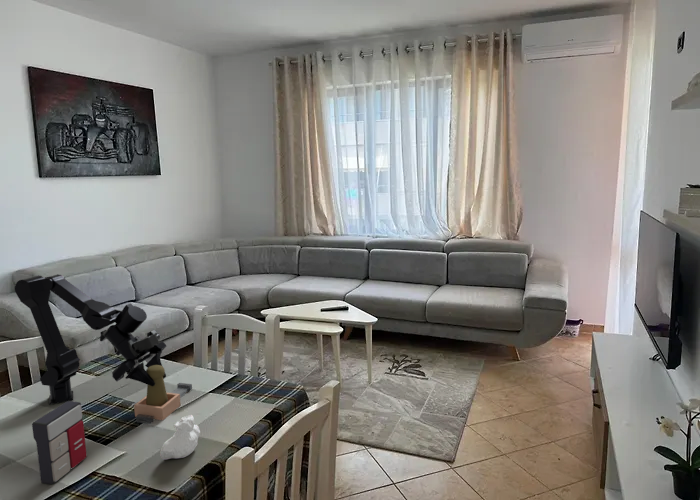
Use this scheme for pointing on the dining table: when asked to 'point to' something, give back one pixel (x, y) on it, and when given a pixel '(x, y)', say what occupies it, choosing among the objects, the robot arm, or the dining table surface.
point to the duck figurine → (181, 439)
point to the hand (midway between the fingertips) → (159, 381)
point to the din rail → (181, 390)
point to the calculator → (59, 441)
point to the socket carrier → (158, 407)
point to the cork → (156, 386)
